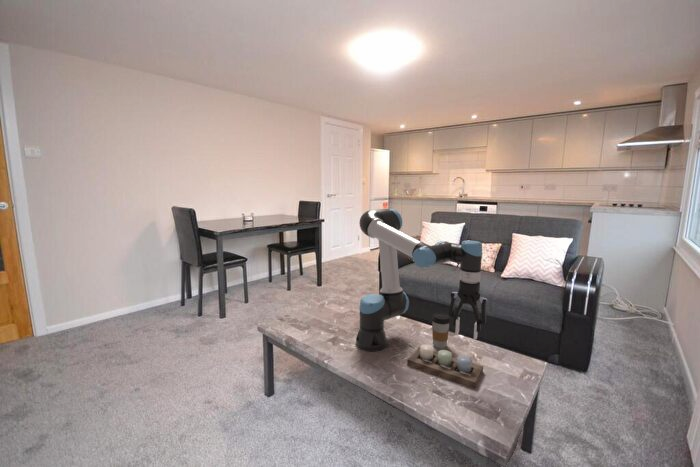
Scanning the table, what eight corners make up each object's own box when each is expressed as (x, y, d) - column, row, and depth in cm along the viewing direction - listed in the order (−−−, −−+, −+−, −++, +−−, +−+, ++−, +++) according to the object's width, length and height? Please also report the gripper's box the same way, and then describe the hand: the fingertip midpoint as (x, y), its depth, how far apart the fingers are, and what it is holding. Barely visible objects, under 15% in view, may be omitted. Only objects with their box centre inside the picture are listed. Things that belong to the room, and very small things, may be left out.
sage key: (435, 363, 135) (436, 354, 134) (440, 357, 139) (440, 348, 138) (449, 367, 132) (449, 358, 131) (453, 361, 136) (453, 352, 135)
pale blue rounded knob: (455, 369, 130) (455, 360, 130) (459, 363, 135) (459, 354, 134) (469, 373, 127) (469, 364, 126) (472, 367, 132) (473, 358, 131)
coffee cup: (449, 350, 150) (451, 320, 147) (431, 348, 151) (432, 318, 149) (447, 342, 158) (449, 313, 155) (430, 340, 159) (431, 311, 157)
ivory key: (417, 357, 139) (418, 348, 138) (422, 351, 144) (423, 343, 143) (430, 361, 136) (430, 352, 135) (434, 355, 141) (435, 346, 140)
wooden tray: (407, 364, 138) (407, 359, 138) (419, 351, 149) (419, 346, 149) (474, 388, 123) (475, 382, 122) (482, 371, 133) (483, 366, 133)
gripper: (441, 278, 127) (439, 333, 131) (494, 288, 116) (490, 347, 120) (447, 274, 133) (445, 326, 137) (498, 282, 122) (494, 339, 126)
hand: (466, 335), depth 129 cm, fingers open, 6 cm apart
